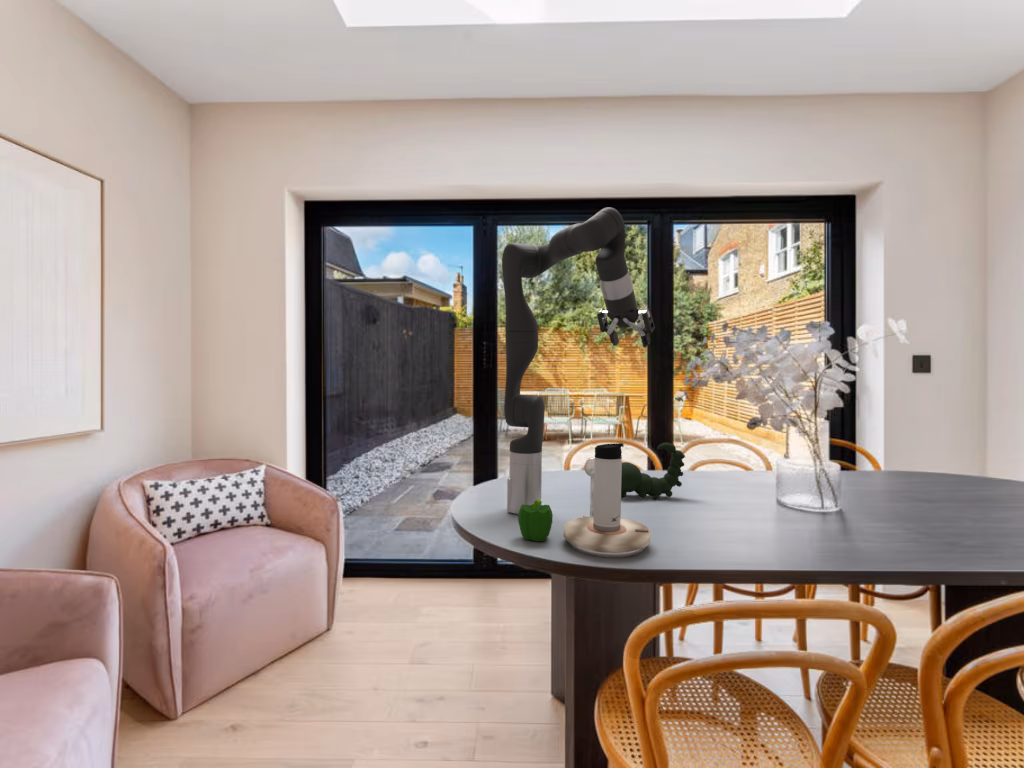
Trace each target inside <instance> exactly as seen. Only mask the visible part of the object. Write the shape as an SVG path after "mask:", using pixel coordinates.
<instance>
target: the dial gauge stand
mask: <svg viewBox="0 0 1024 768" xmlns="http://www.w3.org/2000/svg"><path fill="white" fill-rule="evenodd" d="M594 460H595V456H592V457H589V458H588V459H587V460H586V461H585V463H584V466H583V468H584V472H585V474H586V475H587V476H589V478H590V482H589V483H590V485H589V486H590V488H589V489H590V491H589V497H590V498H589V516H586V515H585V516H584V515H583V516H582V517H593V513H594Z"/></svg>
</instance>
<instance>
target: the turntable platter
mask: <svg viewBox="0 0 1024 768" xmlns="http://www.w3.org/2000/svg"><path fill="white" fill-rule="evenodd" d="M593 521H594V520H593V517H590V516H588V517H583V516H582V517H578V518H577V517H576V518H574V519H570V520H568V521H567V522H565V523H564V525H563V538H564V540H566V541H567V542H568V543H569V544H570V543H572V544H574V545H576V546H579V547H582V548H586V549H591V550H596V551H605V552H627V551H634V550H639V549H642V548H643V549H645V548H646V547H649V545H650V544H651V537H652V536H651V535H652V534H651V529H650V528H649V527H648V526H646V525H645V524H643V523H640V522H638V521H635V520H631V519H627V518H622V517H621V521H620V529H619V530H618V531H615V532H603V531H599V530H596V529H595V528H594V527H593Z"/></svg>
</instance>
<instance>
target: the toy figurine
mask: <svg viewBox="0 0 1024 768" xmlns="http://www.w3.org/2000/svg"><path fill="white" fill-rule="evenodd" d="M662 449H665V450H666V451H668V452H669V453H672V454H671V458H670V460H669V466H668V467H667V469H666V473H665V474H664V475H663V477H659V478H658V477H655V476H653V477H652V476H650V475H649V474H647V473H644V472H641V469H640V468H639V467H638V466H637V465H636V464H633V463H632V462H627V461H626V462H622V474H621V498H625V497H626V496H627V493H633V492H635V493H636V494H637V496H638V497H639V498H640V499H645V498H646V497H647V496H650V497H652V498H653V499H654V500H656V501H657V500H659V499H660V497H661V496H662V495H663V494H664V495H665V496H666V497H668V498H670V497H672V496H673V491H672V489H673V487H675V486H676V487H679V488H680V487H682V485H683V483H682V482H681V481H680V480H679V478H680V477H683V476H684V472H683V471H682V467H684V466H685V463H684V462H683V460H684V459H685V458H686V455H685V454H684V453H683V452H682V450H679V449H677V448H676V446H675V444H673V443H670V442H662V443H660V444H658V446H657V448H656V450H658V451H659V450H662Z"/></svg>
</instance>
